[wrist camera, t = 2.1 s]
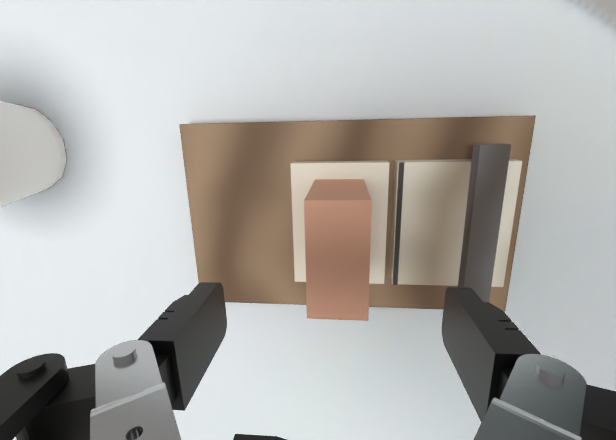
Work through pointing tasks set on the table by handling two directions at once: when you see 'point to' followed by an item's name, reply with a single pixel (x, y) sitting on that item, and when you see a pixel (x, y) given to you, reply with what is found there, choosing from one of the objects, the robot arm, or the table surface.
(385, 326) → the table surface
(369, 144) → the stand
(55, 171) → the foam cup
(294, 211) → the stub
